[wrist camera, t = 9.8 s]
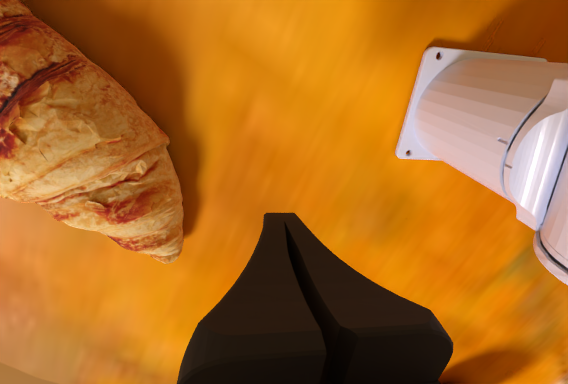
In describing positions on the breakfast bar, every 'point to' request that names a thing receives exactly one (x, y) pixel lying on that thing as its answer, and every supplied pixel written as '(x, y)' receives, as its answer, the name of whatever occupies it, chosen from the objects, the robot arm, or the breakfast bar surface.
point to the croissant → (82, 142)
